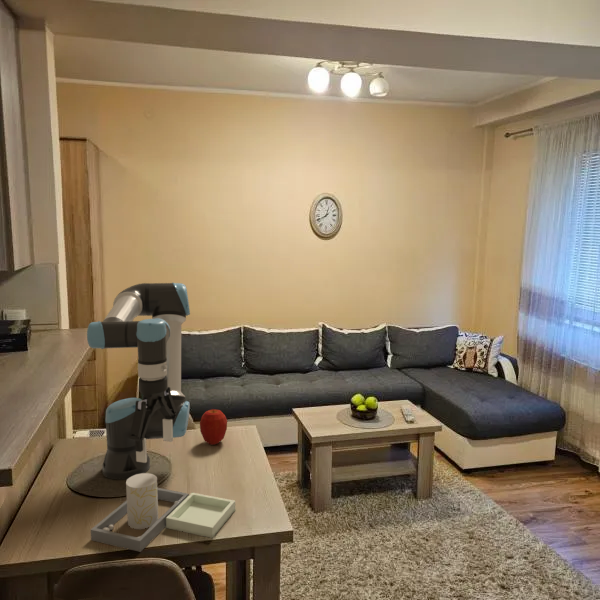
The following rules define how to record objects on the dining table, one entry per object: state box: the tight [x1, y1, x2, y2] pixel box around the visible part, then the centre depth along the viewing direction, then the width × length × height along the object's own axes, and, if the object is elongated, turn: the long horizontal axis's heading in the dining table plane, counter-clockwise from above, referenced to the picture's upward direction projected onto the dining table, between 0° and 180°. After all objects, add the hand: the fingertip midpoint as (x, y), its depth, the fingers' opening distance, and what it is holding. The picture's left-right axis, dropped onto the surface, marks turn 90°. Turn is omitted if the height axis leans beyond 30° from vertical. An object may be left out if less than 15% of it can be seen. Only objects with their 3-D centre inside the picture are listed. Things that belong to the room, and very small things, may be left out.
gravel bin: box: [90, 487, 190, 553], centre depth 144 cm, size 15×24×3 cm, turn 162°
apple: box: [199, 408, 228, 446], centre depth 193 cm, size 10×10×14 cm
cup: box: [125, 472, 159, 530], centre depth 143 cm, size 8×8×12 cm
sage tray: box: [165, 492, 236, 539], centre depth 145 cm, size 14×14×3 cm
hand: (155, 450), depth 143 cm, fingers open, 13 cm apart
